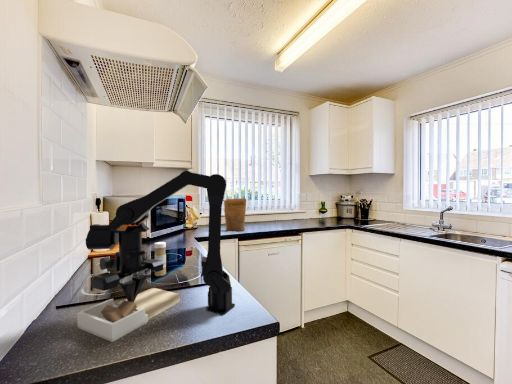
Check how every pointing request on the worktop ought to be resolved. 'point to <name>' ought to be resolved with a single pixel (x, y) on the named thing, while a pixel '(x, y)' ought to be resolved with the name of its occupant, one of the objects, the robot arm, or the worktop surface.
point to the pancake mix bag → (235, 214)
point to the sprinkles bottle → (160, 256)
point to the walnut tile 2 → (127, 308)
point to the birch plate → (155, 301)
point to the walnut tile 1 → (112, 314)
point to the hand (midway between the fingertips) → (131, 303)
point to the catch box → (100, 327)
